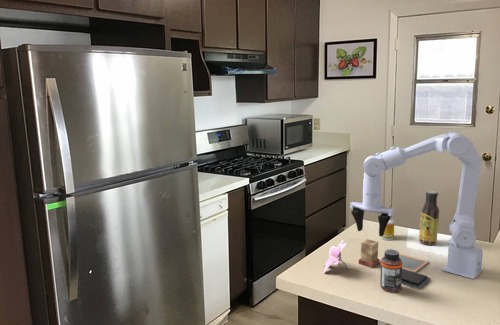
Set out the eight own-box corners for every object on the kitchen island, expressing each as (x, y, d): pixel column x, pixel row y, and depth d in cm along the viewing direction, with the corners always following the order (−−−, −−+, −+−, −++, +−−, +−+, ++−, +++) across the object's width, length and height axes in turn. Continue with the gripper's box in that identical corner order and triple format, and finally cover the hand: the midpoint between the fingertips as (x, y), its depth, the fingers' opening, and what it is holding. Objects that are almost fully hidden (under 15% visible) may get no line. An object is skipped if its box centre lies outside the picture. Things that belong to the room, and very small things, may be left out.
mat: (428, 262, 144) (429, 261, 144) (414, 273, 137) (414, 272, 136) (397, 254, 152) (397, 252, 152) (382, 264, 144) (382, 262, 144)
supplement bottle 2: (384, 281, 132) (386, 246, 130) (404, 287, 128) (406, 250, 126) (376, 288, 127) (377, 252, 125) (396, 294, 123) (398, 257, 121)
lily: (334, 261, 149) (320, 239, 147) (364, 255, 142) (351, 232, 140) (323, 285, 140) (308, 262, 138) (355, 280, 133) (340, 255, 131)
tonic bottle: (415, 241, 164) (417, 190, 160) (428, 239, 166) (431, 188, 162) (426, 247, 158) (429, 194, 154) (441, 245, 160) (444, 192, 156)
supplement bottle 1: (395, 240, 165) (396, 215, 163) (381, 240, 165) (382, 216, 164) (391, 235, 170) (392, 211, 169) (377, 235, 171) (378, 211, 169)
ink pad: (430, 280, 132) (430, 276, 131) (419, 289, 126) (419, 285, 126) (399, 271, 139) (399, 266, 138) (387, 279, 133) (387, 275, 133)
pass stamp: (379, 263, 145) (380, 242, 143) (372, 268, 141) (372, 246, 140) (366, 259, 148) (366, 238, 147) (358, 263, 145) (359, 242, 143)
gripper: (398, 193, 139) (396, 234, 142) (357, 187, 149) (356, 225, 151) (389, 198, 134) (387, 240, 137) (347, 191, 144) (346, 230, 146)
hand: (370, 232), depth 144 cm, fingers open, 7 cm apart
